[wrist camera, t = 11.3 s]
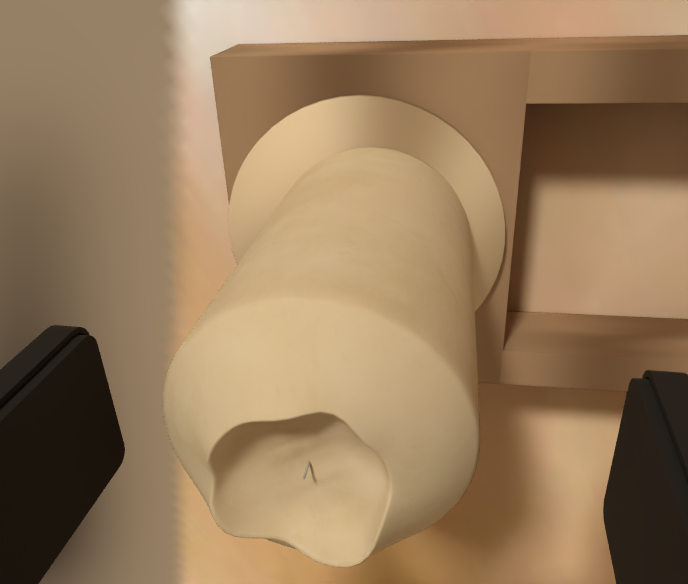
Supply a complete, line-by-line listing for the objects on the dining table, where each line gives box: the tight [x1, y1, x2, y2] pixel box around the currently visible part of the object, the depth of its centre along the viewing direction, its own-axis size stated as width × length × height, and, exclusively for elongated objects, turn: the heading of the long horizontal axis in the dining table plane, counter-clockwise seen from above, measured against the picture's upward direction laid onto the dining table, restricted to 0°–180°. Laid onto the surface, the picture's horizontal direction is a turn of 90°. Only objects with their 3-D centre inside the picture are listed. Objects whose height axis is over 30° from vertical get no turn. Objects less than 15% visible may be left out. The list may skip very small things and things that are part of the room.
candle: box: [163, 147, 480, 567], centre depth 14 cm, size 6×6×10 cm
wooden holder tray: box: [210, 35, 688, 392], centre depth 19 cm, size 18×10×3 cm, turn 92°
